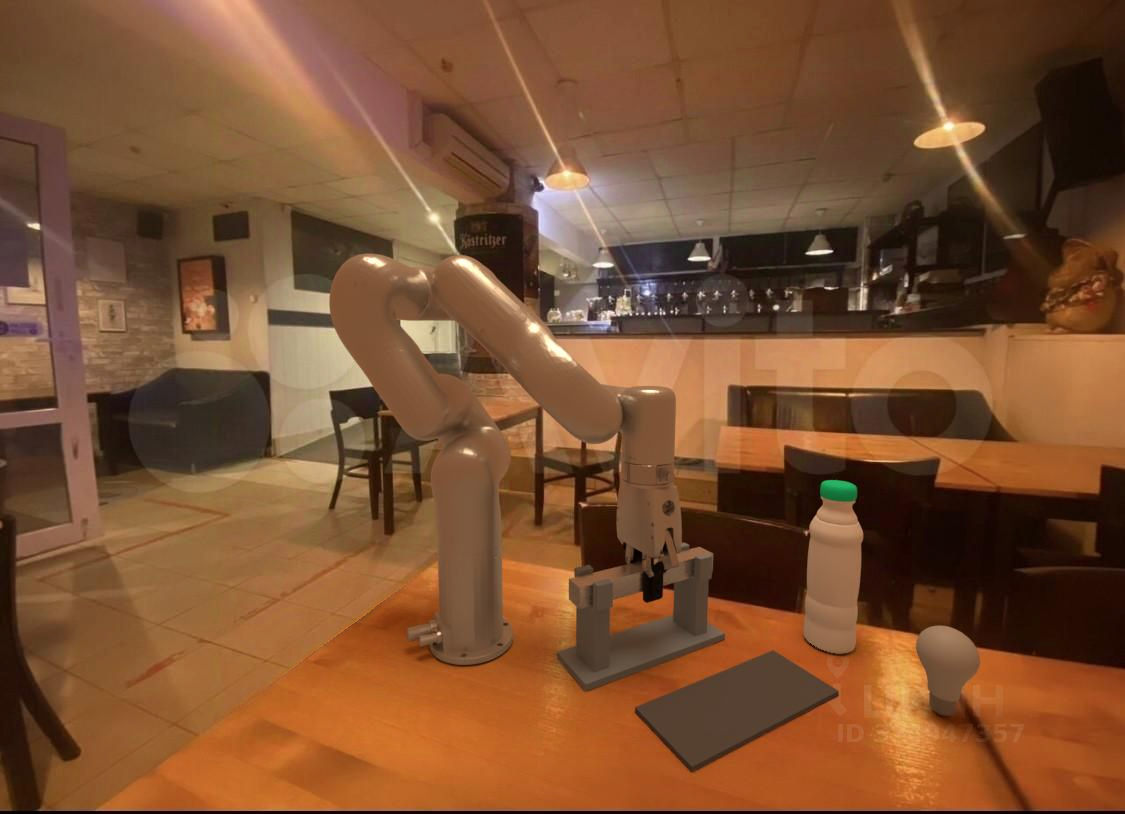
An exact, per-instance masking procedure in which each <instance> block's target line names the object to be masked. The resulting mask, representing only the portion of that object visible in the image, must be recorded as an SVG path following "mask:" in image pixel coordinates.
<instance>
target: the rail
mask: <svg viewBox="0 0 1125 814" xmlns="http://www.w3.org/2000/svg"><path fill="white" fill-rule="evenodd" d="M703 554H709V555H711V556H712V573H713V571H714V570H713V569H714V553H713V552H711V551H709V550H707V549H705V548H703V547H701V546H698V547H693V548H689V549H688V550H684V551H681V552H680V553H677V557H678V561H679V566H678V567H675V568H671V569H668V570H667V572H666V573H665V574H663V587H665V586H667V585H671V584H674V583H675V582H679V581H682V580H686V579H689V578H693V577H694V566H695V556H699V555H703ZM657 562H658V558H657V559H654V565H655V564H656V563H657ZM643 575H646V559H644V560H643V561H639V562H635V563H631V564H627V563H626V564H624V565H620V566H615V567H612V568H608V569H607V568H606V569H603V570H599V571H595V572H594V571H593V573H590V574H586V575H582V576H578V577H574V576H573V577H571V578H570V577H569V578H568V600H569V601H570V602H571V603H572V604H573V605H574V606H575V607H576V606H577V607H578V608H579V609H582V608H586V607H589V606H593V582H597V581H601V580H605V579H609V580H611V581H612V582H613V601H615V600H617V599H620V598H624V597H628V596H632V595H635V594H639V593H643Z"/></svg>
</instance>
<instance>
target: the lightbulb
mask: <svg viewBox="0 0 1125 814" xmlns="http://www.w3.org/2000/svg"><path fill="white" fill-rule="evenodd" d="M915 641H916V643H915V650H916V653H917V657H918V659H919V661H920V663H921V665H922V667H923V669H924V671H925V675H926V679H927V689H928V691H929V697H928V699H929V700H928V703H929V707H930V708H931V709H932V710H933V711H934V712H936V713H937V714H938V715H940V716H943V717H946V716H947V717H948V716H949V717H950V716H954V715H955V713H956V709H957V702H958V701H959V700H960V698H961V694H962V690H963V689H964V688H963V687H964V686H965V685H966V683H967V682H969V681H970V680H972V678H973V677H974V676H975V675H976V674H977V673H978V671H979V669H980V666H981V658H980V653H979V650H978V648H977V647H976V645H975V643H974V642H973V641H972V640H971V639H970V638H969V637H968V636H967V635H966V634H964V633H963V632H962V631H960V630H958V629H956V628H953V627H952V626H946V625H934V626H929V627H927V628H925V629H923V630H922V631H921V632H920V633H919V635H918V637H917V639H916V640H915Z"/></svg>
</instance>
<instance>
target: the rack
mask: <svg viewBox="0 0 1125 814" xmlns="http://www.w3.org/2000/svg"><path fill="white" fill-rule="evenodd" d="M688 549H690V544H688V543H686V542H682V547H681V551H684V550H688ZM573 573H574V574H573V575H574V576H573V578H574V577H578V576H582V575H586V574H590V573H594V567H593V566H592V565H590V564H587V565H582V566H578V567H574V572H573ZM712 574H713V572H712V556H711V555H709V554H703V555H699V556H695V566H694V577H693V578H689V579H686V580H682V581H679V582H675V583H673V608H672V609H673V612H672V614H671V615H668V616H665V617H662V618H659V619H656V620H652V621H649V622H647V623H643V624H640V625H637V626H634V627H631V628H627V629H624V630H622V631H618V632H615V633H612V634H611V632H610V631H611V608H613V606H614V604H613V602H614V600H613V582H612V581H611V580H609V579H605V580H601V581H597V582H593V606H589V607H586V608H582V609H579V608H578V607H577V606H575V607H576V608H575V609H576V610H575V614H576V615H575V616H576V617H575V619H576V620H575V621H576V622H575V629H576V631H575V632H576V633H575V639H576V640H575V645H573V646H571V647H568V648H564V649H562V650H559V651H556V658H557V660H558V661H559V662H560V664H561V665H562V666H563V668H564V669H566V671H567V672H568V673H569V674H570V676H571V677H573V679H574V680H575V681H576V682H577V684H578V685H579V686H580V687H581V689H583V691H584V692H588V691H591V690H594V689H597V688H599V687H601V686H605V685H607V684H610V683H612V682H615V681H618V680H620V679H622V678H627V677H628V676H631V675H634V674H636V673H639V672H641V671H644V670H646V669H650V668H652V667H654V666H658V665H660V664H661V665H662V664H663V663H666V662H668V661H671V660H674V659H677V658H680V657H682V656H685V655H687V654H690V653H692V652H696V651H698V650H701V649H703V647H704V648H706V647H708V646H711V645H710V644H712V645H714V644H716V643H715V642H717V643H719V642H718V641H720V642H722V641H724V640H723V639H726V638H725V637H726V633H725V632H724V631H722V630H720V629H719V628H717V627H716V626H714V625H712V624H711V623H709V622H708V612H709V611H708V610H709V609H708V606H709V582H710V580H711V579H713V577H712V576H713V575H712ZM721 640H722V641H721ZM713 643H714V644H713ZM695 650H696V651H695Z"/></svg>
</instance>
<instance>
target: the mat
mask: <svg viewBox="0 0 1125 814" xmlns="http://www.w3.org/2000/svg"><path fill="white" fill-rule="evenodd" d="M839 693H840V692H839V690H838V689H837V688H835V687H833V686H832V685H830V684H828V683H827V682H825V681H823V680H822V679H820V678H819V677H817V676H815V675H814V674H812V673H811V672H809V671H808V670H807V669H804V668H803V667H801V666H800V665H798V664H796V663H795V662H793V661H792V660H791V659H788V658H787V657H785V656H783V655H782V654H780V653H779V652H777V651H775V650H774V649H773V650H770V651H768V652H765V653H763V654H760V655H758V656H756V657H753V658H750V659H748V660H746V661H744V662H741V663H738V664H737V665H734V666H731V667H728V668H726V669H724V670H721V671H720V672H716V673H714V674H713V675H710V676H707V677H705V678H703V679H700V680H698V681H695V682H692V683H691V684H687V685H686V686H683V687H681V688H678V689H676V690H673V691H671V692H668V693H666V694H664V695H662V696H659V697H657V698H654V699H652V700H649V701H646V702H644V703H642V704H638V706H635V707H634V713H635V714H637V715H638V717H639V718H640V719H641V720H642V721H643V722H644V723H645V725H647V726H648V727H649V728H650V730H652V732H653V733H654V734H655V735H656V736H657V737H658V738H659V739H660V740H661V741H662V742H663V743H664V744H665V746H667V748H668V749H669V750H670V751H671V752H672V753H673V754H674V755H675V756H676V758H678V759H679V760H680V761H681V762H682V764H683V765H685V767H686V768H687V769H688V770H689V771H690V772H691V773H693V772H695V771H697V770H699V769H701V768H702V767H704V766H706V765H708V764H710V763H712V762H714V761H716V760H718V759H720V758H721V757H724V756H725V755H727V754H730V753H731V752H733V751H734V750H737V749H739V748H741V747H742V746H744V745H746V744H748V743H750V742H752V741H754V740H756V739H758V738H760V737H762V736H764V735H765V734H767V733H769V732H771V731H774V730H775V729H777V728H778V727H780V726H782V725H784V724H787V723H788V722H790V721H792V720H794V719H796V718H798V717H800V716H801V715H803V714H805V713H808V712H810V711H811V710H813V709H815V708H817V707H819V706H821V705H822V704H825V703H826V701H827V702H829V701H831V700H832V699H834V698H836V697H838V696H839ZM824 702H825V703H824ZM818 705H819V706H818ZM816 706H817V707H816ZM814 707H815V708H814ZM810 709H811V710H810Z"/></svg>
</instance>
